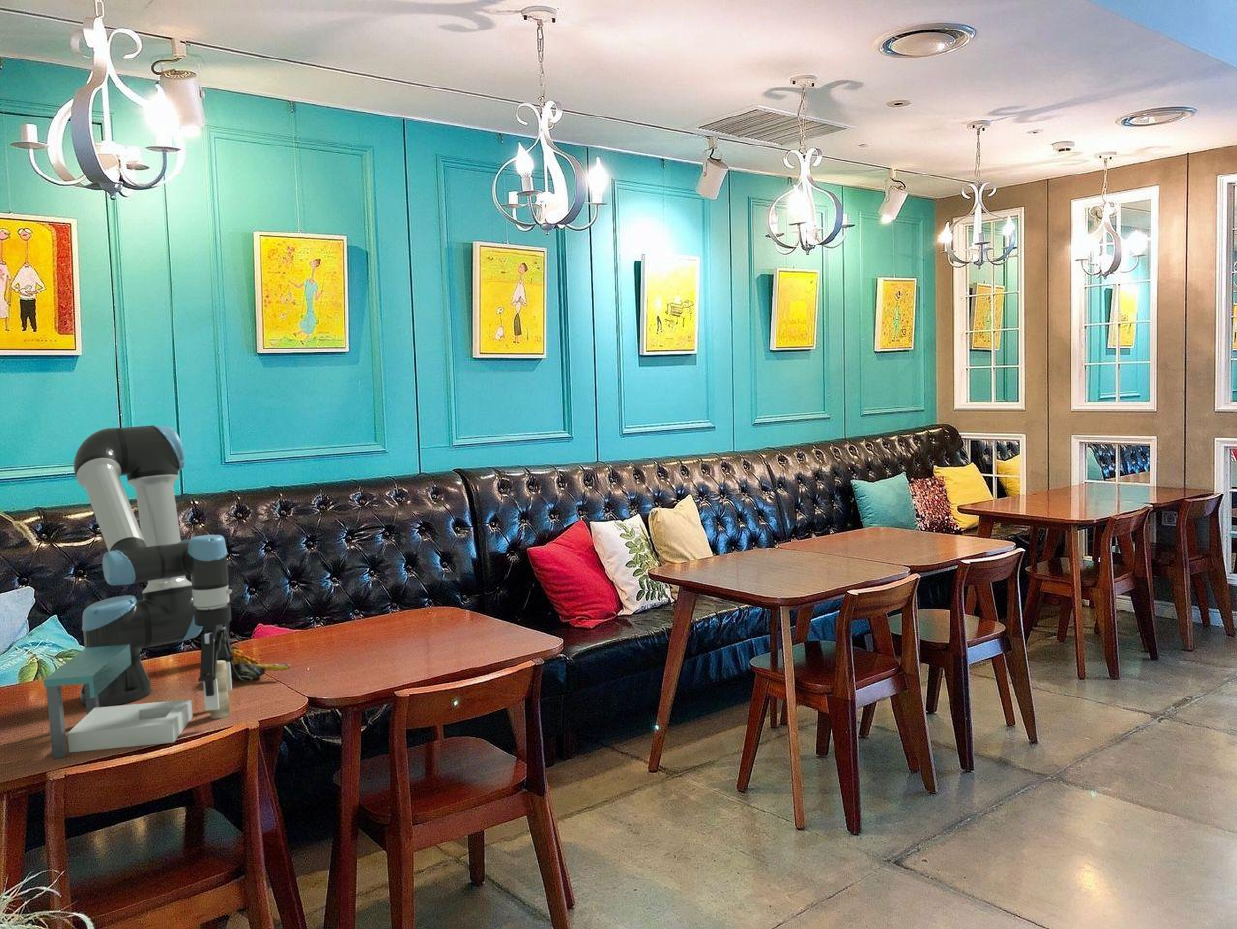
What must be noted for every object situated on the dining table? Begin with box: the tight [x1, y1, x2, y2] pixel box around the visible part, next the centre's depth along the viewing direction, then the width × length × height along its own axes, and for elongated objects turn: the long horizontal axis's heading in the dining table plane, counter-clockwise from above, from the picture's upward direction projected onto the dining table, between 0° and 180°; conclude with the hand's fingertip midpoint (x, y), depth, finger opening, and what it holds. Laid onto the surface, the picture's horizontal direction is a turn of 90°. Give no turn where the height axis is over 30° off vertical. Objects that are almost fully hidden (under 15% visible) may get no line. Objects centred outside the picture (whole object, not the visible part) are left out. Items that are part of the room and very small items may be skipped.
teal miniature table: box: [43, 644, 131, 760], centre depth 207 cm, size 24×9×16 cm, turn 10°
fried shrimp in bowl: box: [228, 644, 292, 682], centre depth 246 cm, size 9×11×18 cm
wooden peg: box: [207, 660, 231, 720], centre depth 218 cm, size 4×4×12 cm
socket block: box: [66, 698, 194, 753], centre depth 209 cm, size 16×20×4 cm
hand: (219, 700), depth 218 cm, fingers open, 13 cm apart
